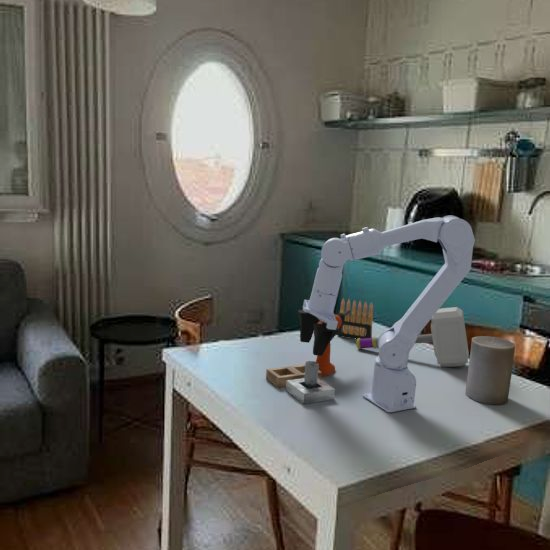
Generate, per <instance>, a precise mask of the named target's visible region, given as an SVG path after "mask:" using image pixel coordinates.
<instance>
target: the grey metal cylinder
mask: <svg viewBox="0 0 550 550" xmlns="http://www.w3.org/2000/svg"><path fill="white" fill-rule="evenodd" d="M304 365H305V376H304V387H305V388H307V389H312V388H317V380H318V368H319V363H317V362H316V361H313V360H312V361H311V360H309V361H305V364H304Z"/></svg>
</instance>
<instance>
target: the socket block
mask: <svg viewBox="0 0 550 550" xmlns="http://www.w3.org/2000/svg"><path fill="white" fill-rule="evenodd" d="M285 391H286V392H287V391H288V392H289V394H290V395H291V396H292V395H293V398H295V399H296V398H297V401H299V403H301V404H303V405H305V404H306V403H307V404H312V402H313V403H317V402H324V401H325V402H326V401H329V400H335V392H336V389H335V388H334V387H333V386H331V385H330V384H328V383H327V382H325V381H323V380H322V379H321V380H320V379H319V378H318V380H317V388H312V389H307V388H305V387H304V378H301V379H294V380H287V381H286V387H285ZM288 392H287V393H288Z"/></svg>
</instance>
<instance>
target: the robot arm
mask: <svg viewBox="0 0 550 550" xmlns="http://www.w3.org/2000/svg"><path fill="white" fill-rule="evenodd" d="M472 228H473V227H472V226H471V224H470V223H469V222H468V221H466V220H465V219H462V218H460V217H458V216H456V215H445V216H443V217H433V218H427V219H426V218H425V219H422V220H418V221H415V222H412V223H408V224H405V225H404V224H403V225H401V226H399V227H395V228H392V229H388V230H384V231H379V230H378V229H376V228H370V229H369V227H368V226H366V227H362V228H361V231H358V232H354V233H349V234H347V235H346V233H342V234H340V238H339V237H331V238H329V239H327V240H326V241H325V242H324V244H323V245H322V246H321V251H320V252H321V253H320V255H321V259H320V260H319V262H318V268H317V269H316V274H315V277H314V281H313V285H312V290H311V293H310V297H309V299H304V300H303V305H302V309H298V310H297V316H298V319H299V328H300V329H299V337H300V339H299V340H300V342H301V343H310V342H311V340H312V337H313V336H314V337H313V338H314V340H313V346H312V354H313V356H317V355H318V356H322V355H323V353H324V352H325V350H326V348H327V346H328V344H329V343H330V344H331V341H332V340H333V339H334V338H335V336H336V335H337V334H338V333H339V329H338V328H337V324H338V321H337V320H336V319H335V316H334V315H335V313H334V311H335V308H336V307H335V306H336V303H337V298H338V295H339V290H340V287H341V282H342V278H343V273H342V272H343V269H344V265H345V264H346V263H347V261H352V262H354V261H358V260H361V259H365V258H369V257H373V256H376V255H377V256H378V255H380V254H381V253H382V252H383V250H384V248H385V247H388V246H393V245H396V244H401V243H406V242H412V241H415V240H421V239H422V240H426V241H431V242H434V243H438V242H439V244H440V246H441V248H442V254H443V258H444V264H443V265H442V266H441V268H440V269H439V270H438V271H437V273H436V274H435V275H434V276H433V278H432V279H431V281H429V283H428V284H427V285H426V286H425V288H424V289H423V290H422V291H421V293H420V294H419V295H418V297H417V298H416V300H415V301H414V302H413V303H412V305H411V306H410V307H409V308H408V309H407V310H406V312H405V314H404V315H403V316H402V317H401V318H400V319H399V320H397V321H396V322H395V323H393V324H392V326H391V327H390V328H388V329H386V330H385V331H384V330H383V332H381V333H380V334H379V336H378V337H377V338H378V347H377V348H378V350H379V351H378V355H377V356H376V357H375V358H374V366H373V373H372V374H373V377H372V385H371V392H368V393H364V394H363V395H362V397H363V398H365V399H367V401H369V402H371V403H373V404H374V405H376V406H378V407H379V408H380V409H382V410H384V411H386V412H387V413H395V412H401V411H405V410H410V409H416V408H417V404H415V397H416V389H417V378H416V376H415V374H413V373H412V372H411V371H410V369H409V366H408V365H409V364H408V360H409V357H410V352H411V350H412V349H413V347H414V346H415V345H416V344H415V342H416V339H417V337H418V335H420V333H421V332H422V331H423V329H424V328H425V327H426V325H428V323H429V322H430V321H431V319H432V317H433V316H434V314H435V313H436V312H437V311H438V309H441V307H442V306H443V305H444V303H445V302H446V301H447V299H448V298H449V297H450V296H451V295H452V293H453V292H454V291H455V290H456V288H457V287H458V286H459V284H460V283H461V282H462V281H463V279H464V278H465V277H466V276H467V275H468V274H469V272H470V270H471V268H472V260H473V251H474V245H475V242H476V239H475V235H474V232H473V229H472ZM320 321H322V324H318V323H319V322H320ZM336 337H337V336H336Z"/></svg>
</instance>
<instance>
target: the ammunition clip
mask: <svg viewBox="0 0 550 550" xmlns="http://www.w3.org/2000/svg"><path fill="white" fill-rule="evenodd" d="M345 307H346V308H345ZM368 307H369V308H368ZM339 308H340V310H339V313H342V314H343V313H344V312H346V311H347V310H350V313H349V314H348V315H346V316H345V320H344V321H343V322H342V324H341V325H340V328H339V333H338V334H337V335H339V336H338V337H340V336H344V337H343V338H346V337H350V338H349V339H352V338H356V339H355V340H357V339H358V338H360V339H365V338H373V337H372V335H373V319H374V304H373V302H372V301H371V302H370V303H369V306H368V303H367V301H364V304H363V305H362V300H359V302H358V305H357V301H356V300H355V299H354V300H353V302H352V306H351V299H349V298H348V300H347V302H345V298H342V299H341V303H340V307H339ZM362 309H363V310H362Z"/></svg>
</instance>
